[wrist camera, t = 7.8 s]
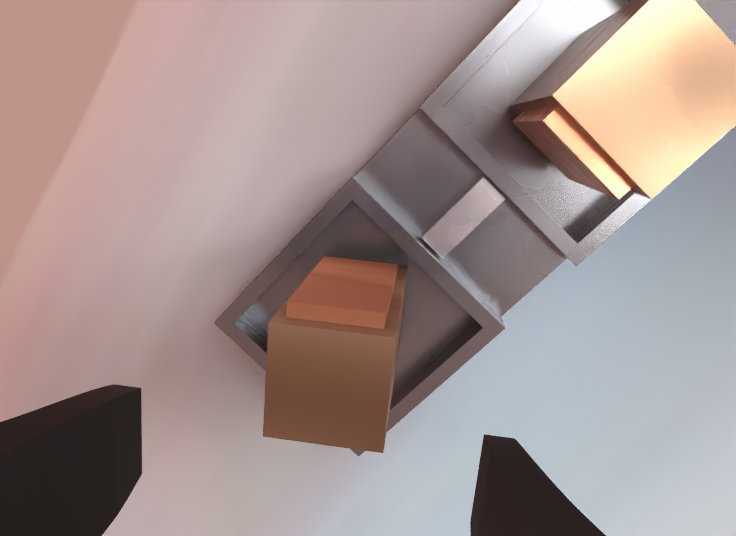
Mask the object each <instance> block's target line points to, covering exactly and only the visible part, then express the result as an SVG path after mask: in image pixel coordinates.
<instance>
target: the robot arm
mask: <svg viewBox="0 0 736 536" xmlns="http://www.w3.org/2000/svg"><path fill="white" fill-rule="evenodd" d="M141 474H142V435H141V388H136V387H129V386H121V385H109V386H105V387H101V388H98V389H94V390H91V391H88V392H85V393H82V394H79V395H76V396H74V397H71V398H68V399H65V400H62V401H60V402H57V403H54V404H51V405H48V406H46V407H43V408H40V409H37V410H35V411H32V412H29V413H26V414H23V415H21V416H18V417H15V418H12V419H9V420H6V421H3V422H0V536H102V534H103V533H104V532H105V531H106V529H107V528H108V527H109V525H110V524H111V523H112V521H113V520H114V519H115V517H116V516H117V515H118V513H119V512H120V510H121V508H122V507H123V505H124V504H125V502H126V500H127V499H128V497H129V495H130V494H131V492H132V490H133V488H134V486H135V485H136V483H137V481H138V479H139V478H140V476H141ZM470 523H471V536H606V535H605V534H603V533H602V532H601V531H600V530H599V529H598V528H597V527H596V526H595V525H594V524H593V523H592V522H591V521H590V520H589V519H588V518H587V517H586V516H584V515H583V514H582V513H581V512H580V511H579V510H578V509H577V508H576V507H575V506H574V505H573V504H572V503H571V502H570V501H569V499H568V498H567V497H566V496H565V495H564V494H563V493H562V492H561V491H560V490H559V489H558V488H557V487H556V485H555V484H554V483H553V482H552V481H551V480H550V479H549V478H548V477H547V475H546V474H545V473H544V472H543V471H542V470H541V469H540V467H539V466H538V465H537V464H536V463H535V462H534V460H533V459H532V458H531V457H530V456H529V454H528V453H527V452H526V451H525V450H524V449H523V447H522V446H521V445H520V444H519V443H518V442H517V441H516V439H513V438H506V437H498V436H491V435H484V438H483V444H482V451H481V457H480V464H479V470H478V477H477V483H476V490H475V496H474V503H473V509H472V516H471V522H470Z"/></svg>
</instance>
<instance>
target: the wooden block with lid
mask: <svg viewBox="0 0 736 536" xmlns="http://www.w3.org/2000/svg"><path fill="white" fill-rule="evenodd" d="M407 269H408V267H407V266H398V264H389V263H380V262H371V261H362V260H353V259H344V258H335V257H326V256H324V257H322V259H321V260H320V261H319V262H318V263H317V265H316V266H315V267H314V268H313V269H312V271H311V272H310V273H309V274H308V275H307V277H306V278H305V279H304V280H303V281H302V283H301V284H300V285H299V286H298V287H297V289H296V290H295V291H294V292H293V294H292V295H291V296H290V297H289V298H288V300H287V301H286V302H285V303H284V304H283V306H282V307H281V308H280V309H279V310H278V312H277V313H276V314H275V315H274V316H273V318H272V319H271V320H270V321H269V322H268V343H267V364H266V385H265V406H264V427H263V436H264V437H271V438H279V439H286V440H293V441H300V442H308V443H315V444H322V445H329V446H337V447H344V448H351V449H358V450H366V451H373V452H380V453H383V450H384V444H385V437H386V430H387V424H388V417H389V411H390V404H391V397H392V391H393V384H394V378H395V371H396V364H397V358H398V351H399V344H400V334H401V325H402V316H403V306H404V297H405V288H406V278H407Z"/></svg>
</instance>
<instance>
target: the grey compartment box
mask: <svg viewBox="0 0 736 536" xmlns="http://www.w3.org/2000/svg"><path fill="white" fill-rule="evenodd" d="M735 126H736V46H735V45H734V44H733V42H732V41H731V40H730V39H729V38H728V37H727V36H726V35H725V34H724V32H723V31H722V30H721V29H720V28H719V27H718V26H717V25H716V24H715V23H714V21H713V20H712V19H711V18H710V17H709V16H708V15H707V14H706V13H705V11H704V10H703V9H702V8H701V7H700V6H699V5H698V4H697V3H696V2H695V0H520V1H519V2H518V3H517V4H516V6H515V7H514V8H513V9H512V10H511V11H510V12H509V13H508V14H507V15H506V16H505V17H504V18H503V19H502V20H501V21H500V22H499V23H498V24H497V26H496V27H495V28H494V29H493V30H492V31H491V32H490V33H489V34H488V35H487V36H486V37H485V38H484V39H483V40H482V41H481V42H480V43H479V44H478V46H477V47H476V48H475V49H474V50H473V51H472V52H471V53H470V54H469V55H468V56H467V57H466V58H465V59H464V60H463V61H462V62H461V63H460V64H459V66H458V67H457V68H456V69H455V70H454V71H453V72H452V73H451V74H450V75H449V76H448V77H447V78H446V79H445V80H444V81H443V82H442V83H441V84H440V85H439V87H438V88H437V89H436V90H435V91H434V92H433V93H432V94H431V95H430V96H429V97H428V98H427V99H426V100H425V101H424V102H423V103H422V104H421V105H420V108H419V110H418V111H417V112H416V113H415V114H414V115H413V116H412V117H411V118H410V119H409V120H408V121H407V122H406V123H405V124H404V125H403V126H402V127H401V128H400V130H399V131H398V132H397V133H396V134H395V135H394V136H393V137H392V138H391V139H390V140H389V141H388V142H387V143H386V144H385V145H384V146H383V147H382V148H381V149H380V151H379V152H378V153H377V154H376V155H375V156H374V157H373V158H372V159H371V160H370V161H369V162H368V163H367V164H366V165H365V166H364V167H363V168H362V169H361V170H360V172H359V173H358V174H357V175H355V176H354V177H352V178H351V179H350V180H349V181H348V182H347V183H346V184H345V185H344V186H343V188H342V189H341V190H340V191H339V192H338V193H337V194H336V195H335V196H334V197H333V198H332V199H331V200H330V201H329V202H328V203H327V204H326V205H325V206H324V207H323V209H322V210H321V211H320V212H319V213H318V214H317V215H316V216H315V217H314V218H313V219H312V220H311V221H310V222H309V223H308V224H307V225H306V226H305V227H304V229H303V230H302V231H301V232H300V233H299V234H298V235H297V236H296V237H295V238H294V239H293V240H292V241H291V242H290V243H289V244H288V245H287V246H286V247H285V249H284V250H283V251H282V252H281V253H280V254H279V255H278V256H277V257H276V258H275V259H274V260H273V261H272V262H271V263H270V264H269V265H268V266H267V267H266V269H265V270H264V271H263V272H262V273H261V274H260V275H259V276H258V277H257V278H256V279H255V280H254V281H253V282H252V283H251V284H250V285H249V286H248V287H247V288H246V290H245V291H244V292H243V293H242V294H241V295H240V296H239V297H238V298H237V299H236V300H235V301H234V302H233V303H232V304H231V305H230V306H229V307H228V308H227V310H226V311H225V312H224V313H223V314H222V315H221V316H220V317H219V318H218V319H217V320H216V321H215V322H214V323H215V324H216V325H217V326H218V327H219V328H220V329H221V330H223V331H224V332H225V333H226V334H227V335H228V336H229V337H230V338H231V339H232V340H233V341H234V342H236V343H237V344H238V345H239V346H240V347H241V348H242V349H243V350H244V351H245V352H246V353H247V354H249V355H250V356H251V357H252V358H253V359H254V360H255V361H256V362H257V363H258V364H259V365H260V366H261V367H263V368H264V369H265V370H266V364H267V343H268V322H269V321H270V320H271V319H272V318H273V316H274V315H275V314H276V313H277V312H278V310H279V309H280V308H281V307H282V306H283V304H284V303H285V302H286V301H287V300H288V298H289V297H290V296H291V295H292V294H293V292H294V291H295V290H296V289H297V287H298V286H299V285H300V284H301V283H302V281H303V280H304V279H305V278H306V277H307V275H308V274H309V273H310V272H311V271H312V269H313V268H314V267H315V266H316V265H317V263H318V262H319V261H320V260H321V259H322V257H324V256H326V257H335V258H344V259H353V260H362V261H371V262H380V263H389V264H398V266H407V267H408V269H407V278H406V288H405V297H404V306H403V316H402V325H401V334H400V344H399V351H398V358H397V364H396V371H395V378H394V384H393V391H392V397H391V404H390V411H389V417H388V424H387V430H386V432H387V431H388V430H390V429H391V428H392V427H393V426H394V425H395V424H396V423H397V422H399V421H400V420H401V419H402V418H403V417H404V416H405V415H407V414H408V413H409V412H410V411H411V410H412V409H413V408H415V407H416V406H417V405H418V404H419V403H420V402H421V401H423V400H424V399H425V398H426V397H427V396H428V395H429V394H431V393H432V392H433V391H434V390H435V389H436V388H437V387H439V386H440V385H441V384H442V383H443V382H444V381H445V380H447V379H448V378H449V377H450V376H451V375H452V374H453V373H455V372H456V371H457V370H458V369H459V368H460V367H461V366H463V365H464V364H465V363H466V362H467V361H468V360H469V359H470V358H472V357H473V356H474V355H475V354H476V353H477V352H478V351H480V350H481V349H482V348H483V347H484V346H485V345H486V344H488V343H489V342H490V341H491V340H492V339H493V338H494V337H496V336H497V335H498V334H499V333H500V332H501V331H502V330H504V329H505V327H504V324H503V321H502V318H501V316H502V315H503V314H504V313H506V312H507V311H508V310H509V309H510V308H511V307H512V306H513V305H515V304H516V303H517V302H518V301H519V300H520V299H521V298H522V297H524V296H525V295H526V294H527V293H528V292H529V291H530V290H531V289H533V288H534V287H535V286H536V285H537V284H538V283H539V282H541V281H542V280H543V279H544V278H545V277H546V276H547V275H548V274H550V273H551V272H552V271H553V270H554V269H555V268H556V267H557V266H559V265H560V264H561V263H562V262H563V261H564V260H565V259H567V258H569V259H570V260H571V261H572V262H573V263H574V264H575V265H576V266H577V265H578V264H579V263H580V262H581V261H582V260H583V259H585V258H586V257H587V256H588V255H589V254H590V253H591V252H593V251H594V250H595V249H596V248H597V247H598V246H599V245H601V244H602V243H603V242H604V241H605V240H606V239H607V238H608V237H610V236H611V235H612V234H613V233H614V232H615V231H616V230H618V229H619V228H620V227H621V226H622V225H623V224H624V223H626V222H627V221H628V220H629V219H630V218H631V217H632V216H634V215H635V214H636V213H637V212H638V211H639V210H640V209H642V208H643V207H644V206H645V205H646V204H647V203H648V202H650V201H651V200H652V199H653V198H654V197H655V196H656V195H658V194H659V193H660V192H661V191H662V190H663V189H664V188H666V187H667V186H668V185H669V184H670V183H671V182H672V181H673V180H675V179H676V178H677V177H678V176H679V175H680V174H681V173H683V172H684V171H685V170H686V169H687V168H688V167H689V166H691V165H692V164H693V163H694V162H695V161H696V160H697V159H699V158H700V157H701V156H702V155H703V154H704V153H705V152H707V151H708V150H709V149H710V148H711V147H712V146H713V145H715V144H716V143H717V142H718V141H719V140H720V139H721V138H723V137H724V136H725V135H726V134H727V133H728V132H729V131H731V130H732V129H733V128H734V127H735ZM350 449H351V448H350ZM351 450H352V451H353V452H354V453H356V454H357V455H358V456H360V455H361V454H362V453H363V452H364V451H366V450H358V449H351Z"/></svg>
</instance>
